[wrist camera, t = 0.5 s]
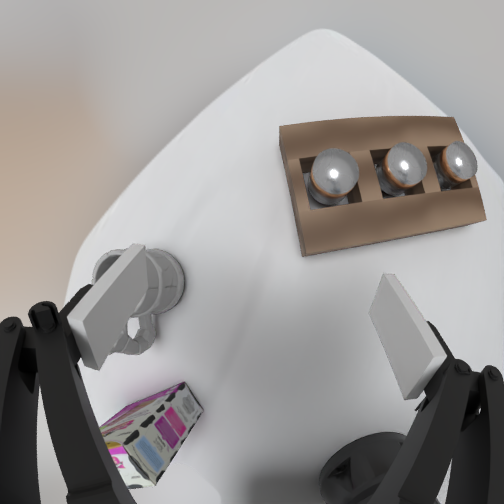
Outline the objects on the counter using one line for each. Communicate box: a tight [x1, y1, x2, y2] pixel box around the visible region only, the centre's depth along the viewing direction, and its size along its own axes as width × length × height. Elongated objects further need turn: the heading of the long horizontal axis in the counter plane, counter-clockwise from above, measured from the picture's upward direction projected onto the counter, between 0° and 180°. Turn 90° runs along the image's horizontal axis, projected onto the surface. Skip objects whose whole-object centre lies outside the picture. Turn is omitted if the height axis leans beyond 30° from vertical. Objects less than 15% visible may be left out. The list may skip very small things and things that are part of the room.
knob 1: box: [308, 148, 359, 205], centre depth 27 cm, size 4×4×5 cm
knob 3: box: [432, 141, 477, 189], centre depth 26 cm, size 4×4×5 cm
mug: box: [92, 248, 184, 355], centre depth 28 cm, size 8×12×12 cm, turn 177°
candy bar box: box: [99, 382, 203, 489], centre depth 24 cm, size 11×5×16 cm, turn 120°
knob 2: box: [375, 142, 427, 195], centre depth 27 cm, size 4×4×5 cm
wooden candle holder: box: [279, 116, 487, 257], centre depth 30 cm, size 14×24×5 cm, turn 100°
